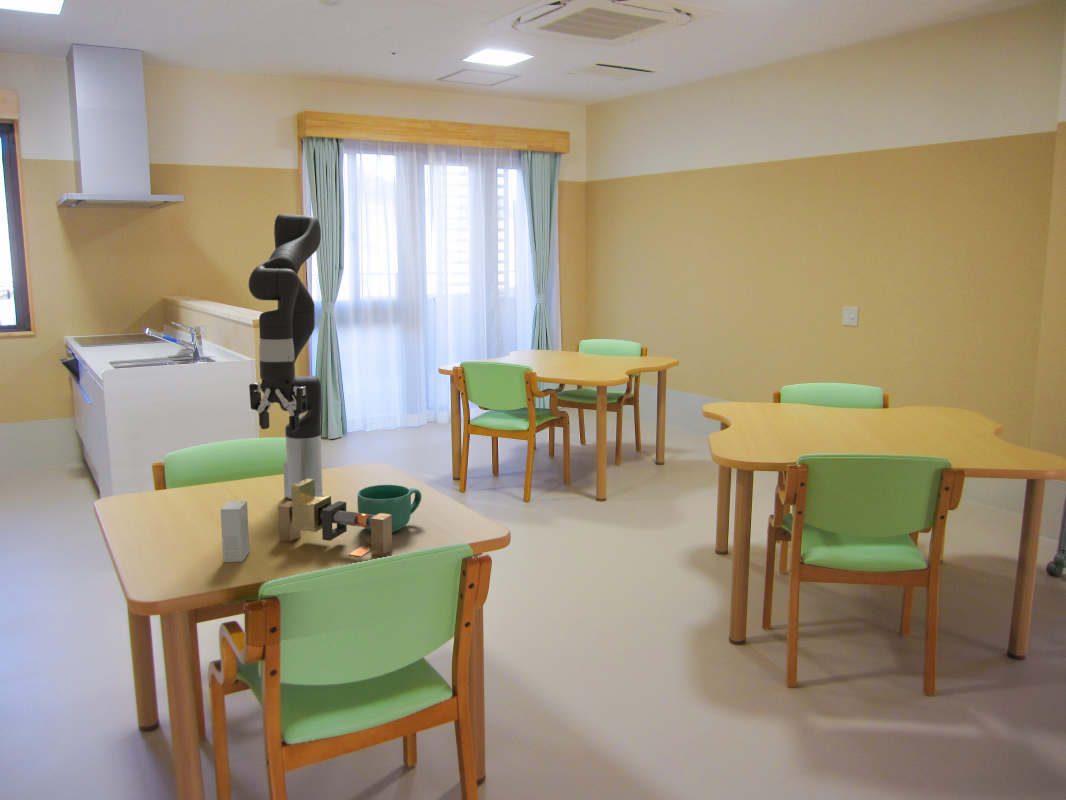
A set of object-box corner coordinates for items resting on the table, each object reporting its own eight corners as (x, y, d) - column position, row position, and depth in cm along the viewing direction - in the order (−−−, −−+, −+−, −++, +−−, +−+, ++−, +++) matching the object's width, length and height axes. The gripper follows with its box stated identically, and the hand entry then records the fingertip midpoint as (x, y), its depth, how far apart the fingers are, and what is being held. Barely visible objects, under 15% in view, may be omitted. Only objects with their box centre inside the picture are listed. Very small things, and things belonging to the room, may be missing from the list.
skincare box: (230, 552, 181) (227, 500, 179) (250, 552, 181) (247, 500, 179) (222, 562, 175) (219, 509, 173) (242, 562, 175) (240, 509, 173)
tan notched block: (291, 529, 185) (290, 485, 183) (309, 520, 192) (308, 478, 190) (314, 532, 183) (313, 488, 181) (331, 523, 190) (330, 480, 188)
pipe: (274, 543, 187) (272, 508, 185) (294, 532, 194) (293, 498, 193) (379, 559, 178) (378, 522, 177) (396, 547, 186) (395, 511, 184)
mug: (371, 541, 190) (371, 502, 188) (349, 526, 199) (348, 489, 198) (434, 528, 199) (434, 491, 197) (410, 515, 209) (410, 479, 207)
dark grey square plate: (322, 539, 183) (321, 509, 182) (339, 530, 189) (338, 501, 188) (330, 540, 182) (329, 510, 181) (346, 531, 189) (346, 502, 187)
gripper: (239, 358, 182) (242, 430, 185) (294, 362, 177) (297, 436, 180) (260, 354, 189) (263, 424, 192) (314, 358, 184) (316, 429, 187)
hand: (279, 429), depth 186 cm, fingers open, 7 cm apart
